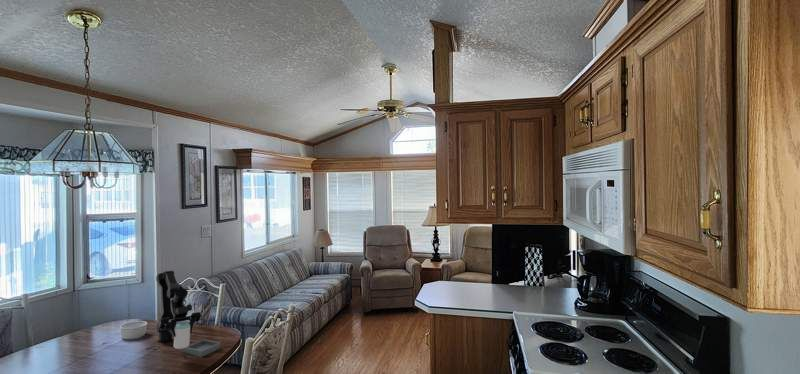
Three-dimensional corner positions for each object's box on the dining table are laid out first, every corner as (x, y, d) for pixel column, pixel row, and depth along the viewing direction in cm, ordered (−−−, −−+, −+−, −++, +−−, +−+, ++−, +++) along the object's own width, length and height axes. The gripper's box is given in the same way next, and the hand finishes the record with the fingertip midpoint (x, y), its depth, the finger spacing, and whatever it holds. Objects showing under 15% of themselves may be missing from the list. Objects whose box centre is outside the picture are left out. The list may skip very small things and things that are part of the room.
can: (192, 346, 192) (193, 322, 193) (178, 350, 186) (180, 326, 186) (183, 343, 196) (185, 320, 196) (170, 347, 189) (171, 324, 190)
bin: (183, 352, 199) (183, 347, 199) (203, 344, 211) (203, 339, 211) (201, 357, 194) (201, 351, 195) (220, 348, 206) (220, 342, 206)
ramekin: (151, 335, 222) (151, 323, 222) (125, 342, 211) (126, 330, 211) (140, 330, 229) (141, 319, 229) (115, 337, 218) (116, 325, 218)
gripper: (160, 302, 188) (165, 331, 180) (201, 296, 201) (206, 322, 193) (156, 314, 193) (160, 342, 185) (196, 307, 206) (201, 333, 198)
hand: (182, 334), depth 190 cm, fingers closed on can, 7 cm apart
